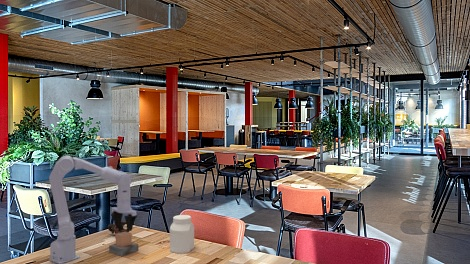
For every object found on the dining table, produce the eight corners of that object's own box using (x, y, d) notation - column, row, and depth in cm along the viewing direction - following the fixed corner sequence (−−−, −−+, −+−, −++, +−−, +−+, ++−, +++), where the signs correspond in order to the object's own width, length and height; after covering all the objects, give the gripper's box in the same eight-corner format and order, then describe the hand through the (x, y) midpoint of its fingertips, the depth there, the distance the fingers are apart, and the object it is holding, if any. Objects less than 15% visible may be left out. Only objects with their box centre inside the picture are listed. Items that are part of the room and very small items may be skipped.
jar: (187, 254, 164) (187, 220, 163) (167, 252, 166) (167, 219, 166) (196, 246, 175) (196, 214, 175) (177, 244, 177) (177, 213, 177)
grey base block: (121, 257, 161) (121, 249, 161) (109, 253, 166) (109, 245, 166) (138, 251, 168) (138, 244, 168) (125, 247, 174) (125, 240, 173)
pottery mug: (131, 233, 198) (133, 221, 194) (126, 245, 189) (128, 234, 186) (109, 227, 197) (111, 216, 193) (102, 240, 188) (104, 228, 185)
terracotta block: (122, 247, 164) (121, 236, 163) (115, 244, 167) (115, 234, 167) (131, 244, 167) (131, 233, 167) (125, 242, 171) (125, 231, 170)
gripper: (141, 200, 166) (141, 229, 166) (120, 196, 174) (120, 225, 174) (129, 202, 160) (129, 233, 161) (108, 199, 168) (108, 228, 169)
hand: (123, 229), depth 167 cm, fingers open, 7 cm apart
